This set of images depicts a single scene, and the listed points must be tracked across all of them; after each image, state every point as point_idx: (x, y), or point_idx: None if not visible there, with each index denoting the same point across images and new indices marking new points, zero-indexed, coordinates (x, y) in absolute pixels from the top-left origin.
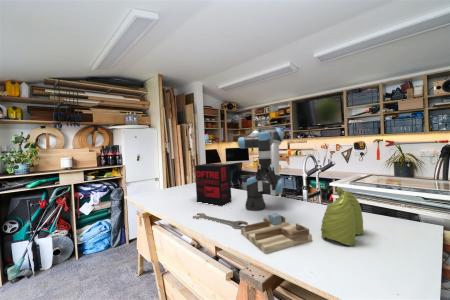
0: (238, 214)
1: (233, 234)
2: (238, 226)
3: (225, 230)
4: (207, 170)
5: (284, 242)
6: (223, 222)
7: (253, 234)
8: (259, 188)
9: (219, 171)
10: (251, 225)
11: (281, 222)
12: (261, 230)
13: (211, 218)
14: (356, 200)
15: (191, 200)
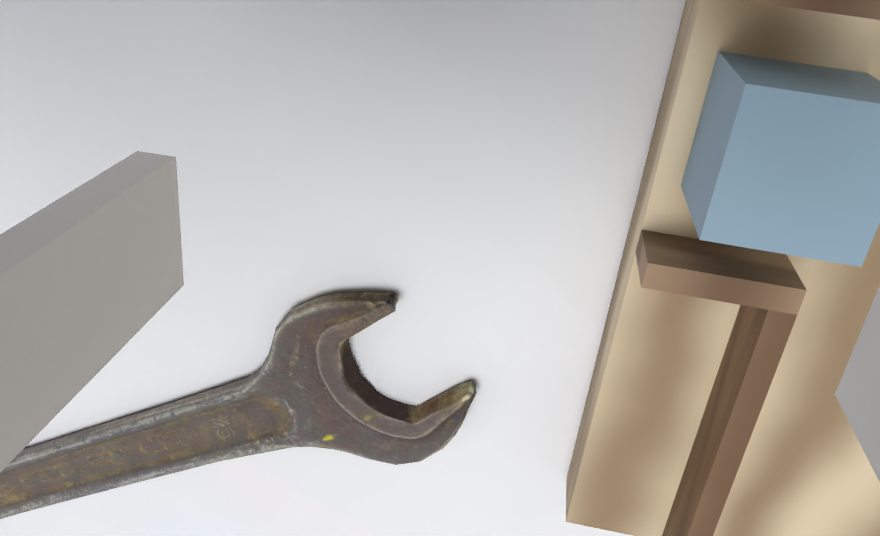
0: (6, 160)
1: (527, 530)
2: (428, 437)
3: (396, 528)
4: None
5: None
6: (214, 461)
7: (795, 533)
8: (133, 308)
9: None
10: (711, 532)
11: (875, 78)
12: (788, 417)
13: (37, 478)
14: None
15: None
